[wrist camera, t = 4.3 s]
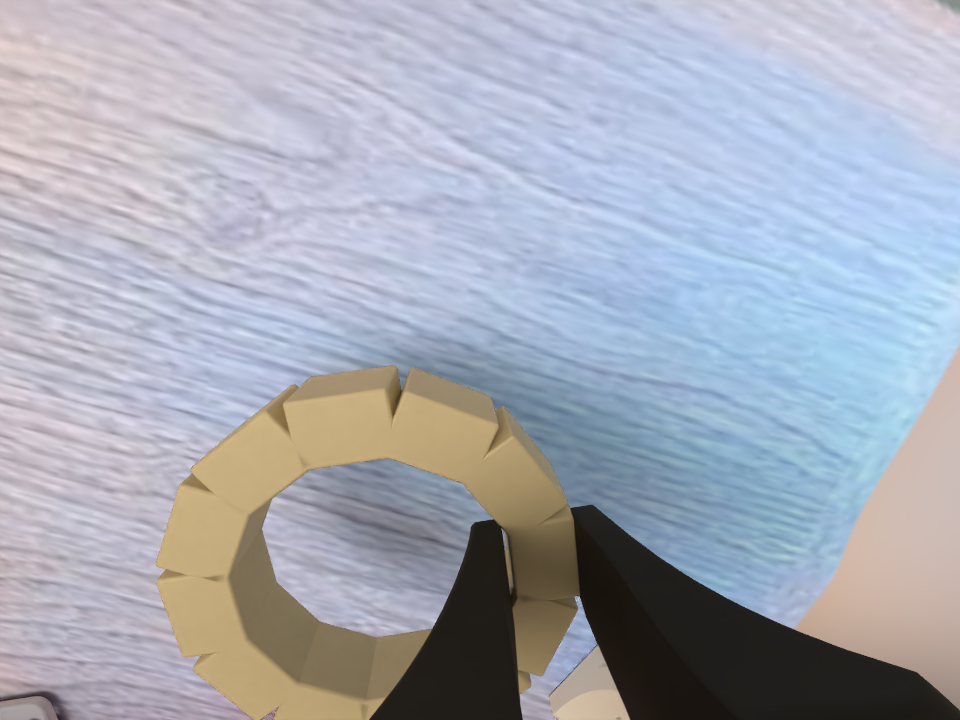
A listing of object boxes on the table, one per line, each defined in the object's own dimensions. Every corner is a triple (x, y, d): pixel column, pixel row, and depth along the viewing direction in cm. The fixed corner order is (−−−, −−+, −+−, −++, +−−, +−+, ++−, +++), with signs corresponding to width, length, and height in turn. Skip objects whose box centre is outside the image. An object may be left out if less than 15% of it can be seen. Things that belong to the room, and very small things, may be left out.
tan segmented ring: (572, 649, 14) (592, 714, 12) (255, 700, 14) (223, 775, 12) (544, 343, 12) (562, 363, 10) (157, 397, 11) (98, 428, 9)
